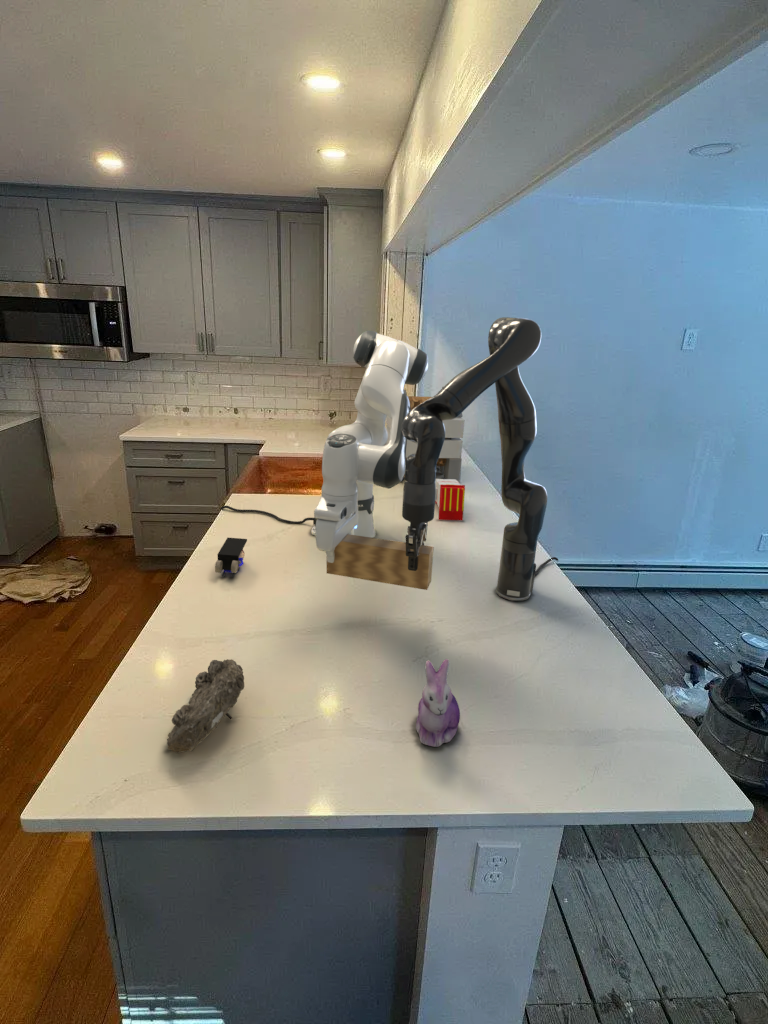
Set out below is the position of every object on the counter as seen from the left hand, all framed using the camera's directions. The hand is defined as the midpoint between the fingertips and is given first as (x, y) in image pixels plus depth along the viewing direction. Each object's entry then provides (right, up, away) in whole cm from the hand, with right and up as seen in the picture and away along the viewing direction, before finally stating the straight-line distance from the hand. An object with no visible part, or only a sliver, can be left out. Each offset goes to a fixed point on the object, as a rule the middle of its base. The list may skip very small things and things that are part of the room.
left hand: (338, 553), depth 142 cm
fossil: (-21, -29, -34) cm, 49 cm away
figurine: (+22, -31, -35) cm, 52 cm away
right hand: (+19, -2, -5) cm, 20 cm away
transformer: (+29, +29, +133) cm, 139 cm away
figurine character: (-33, -7, +25) cm, 42 cm away
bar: (+10, -6, -1) cm, 12 cm away
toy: (+36, +12, +85) cm, 93 cm away
